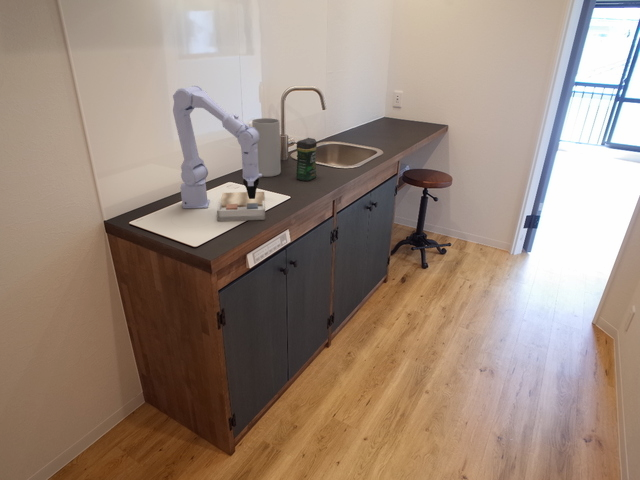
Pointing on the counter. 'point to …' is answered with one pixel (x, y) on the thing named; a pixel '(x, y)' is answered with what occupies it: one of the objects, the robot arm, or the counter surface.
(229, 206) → the terracotta block
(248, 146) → the robot arm
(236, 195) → the oak board
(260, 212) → the box
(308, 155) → the coffee jar
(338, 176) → the counter surface
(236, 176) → the counter surface
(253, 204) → the slate tile
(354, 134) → the counter surface
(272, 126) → the cylinder vase
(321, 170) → the counter surface
